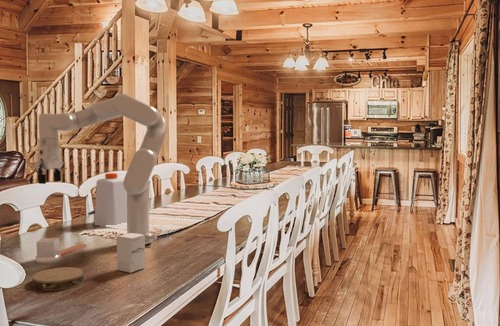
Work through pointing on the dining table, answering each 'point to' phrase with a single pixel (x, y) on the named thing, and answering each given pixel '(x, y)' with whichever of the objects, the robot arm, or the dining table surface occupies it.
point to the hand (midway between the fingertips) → (50, 182)
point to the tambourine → (58, 278)
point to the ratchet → (60, 254)
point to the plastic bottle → (110, 201)
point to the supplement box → (130, 252)
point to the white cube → (48, 247)
